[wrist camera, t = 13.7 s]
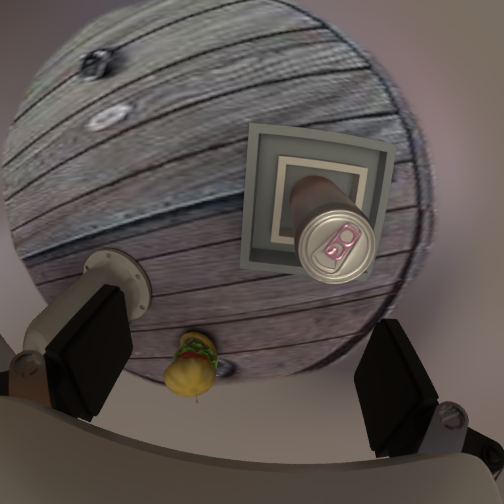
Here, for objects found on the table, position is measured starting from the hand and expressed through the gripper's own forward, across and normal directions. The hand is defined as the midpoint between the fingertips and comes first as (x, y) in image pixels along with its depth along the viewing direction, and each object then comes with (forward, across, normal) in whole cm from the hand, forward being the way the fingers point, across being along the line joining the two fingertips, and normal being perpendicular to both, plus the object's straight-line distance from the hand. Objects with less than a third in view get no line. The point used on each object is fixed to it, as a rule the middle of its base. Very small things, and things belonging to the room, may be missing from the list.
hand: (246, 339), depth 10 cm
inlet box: (+26, -6, -1) cm, 27 cm away
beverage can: (+25, -6, 0) cm, 26 cm away
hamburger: (+27, +7, +25) cm, 37 cm away
